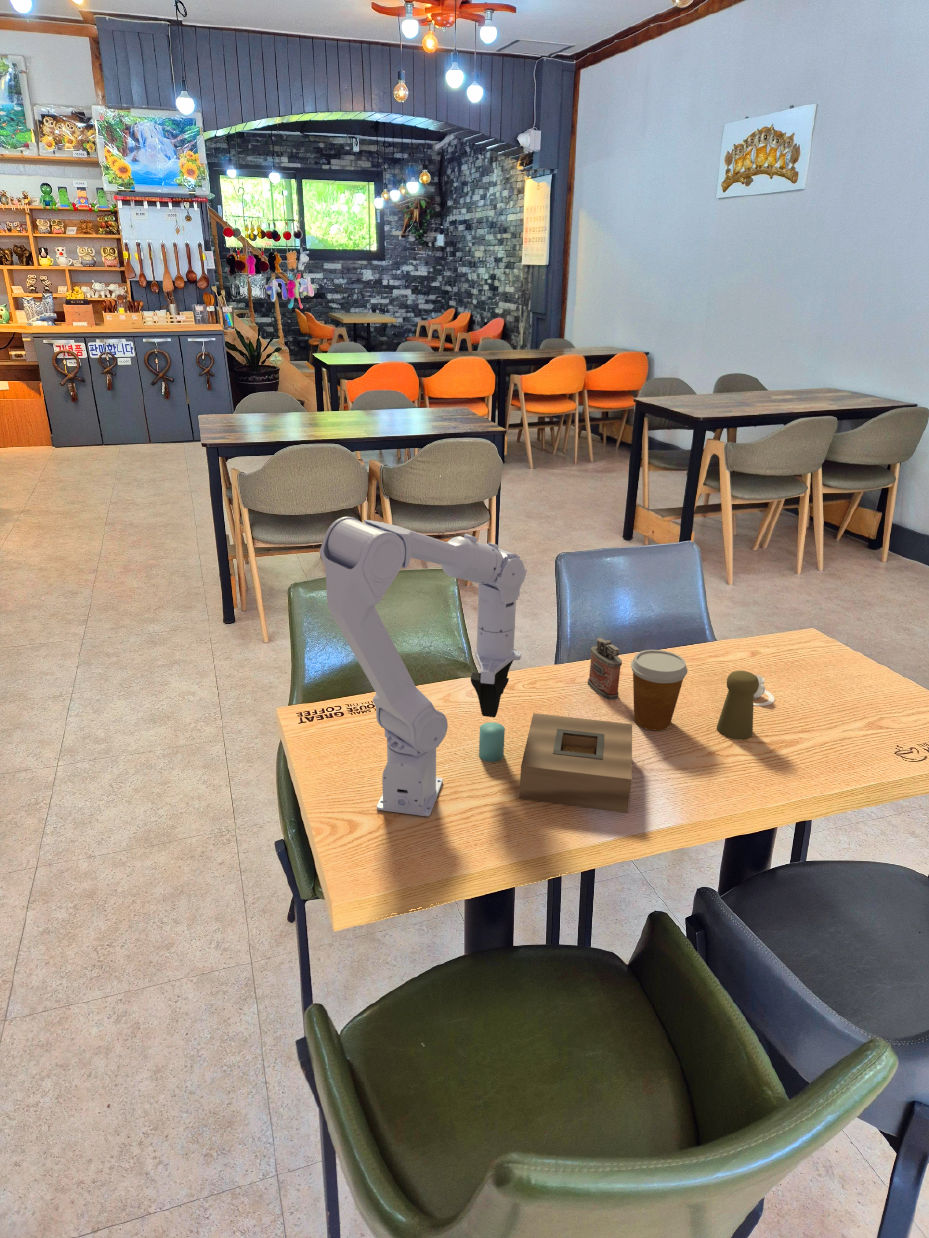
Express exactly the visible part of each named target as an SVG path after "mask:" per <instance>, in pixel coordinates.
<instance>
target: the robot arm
mask: <svg viewBox="0 0 929 1238" xmlns="http://www.w3.org/2000/svg"><path fill="white" fill-rule="evenodd" d="M362 521H363V522H362ZM362 521H360V520H359V519H357V518H355V517H352V516H343V517H340V518H338V519H336V520H335V521H333V522H332V523H331V524H330V525H329V527H328V529H327V531H326V533H325V535H324V538H323V541H322V543H321V546H320V549H319V555H320V557H321V560H322V561H323V564H324V567H325V581H326V583H325V584H326V600H327V607H328V610H329V612H330V614H331V615H332V618H333V619H334V622H336V624H337V626H338V628H339V630H340V632H341V633H342V635H343V637H344V639H345V640H346V642H347V644H348V645H349V648H350V649H351V651H352V653H353V655H354V656H355V658H356V660H357V661H358V663H359V666H360V668H361V669H362V671H363V672H364V674H365V676H366V678H367V679H368V681H369V683H370V685H371V687H372V688H373V690H374V692H375V695H374V696H373V698H372V702H373V704H374V706H375V710H376V712H375V715H376V721H377V724H378V725H379V726H380V727H382V728H383V729H384V737H385V738H386V757H387V758H386V759H387V761H386V765H385V767H384V770H383V772H382V794H381V795H380V798H379V800H378V802H377V804H376V809H377V810H378V811H384V812H392V813H398V814H400V813H401V814H407V815H414V816H421V817H430V816H431V813H432V811H433V809H434V806H435V803H436V802H437V801H436V800H437V798H438V795H439V793H440V790H441V787H442V784H443V782H444V779H443V778H442V777H438V776H437V748H438V747H440V744H442V742H443V741H444V739H445V737H446V735H447V731H448V725H449V724H448V723H449V722H448V719H447V716H446V715H445V714H444V713H443V712H441V711H439V710H438V709H436V708H435V706H434V705H433V703H432V701H430V700H429V698H428V697H427V696H426V695H425V694H424V693H423V692H422V691H421V690H419V688H417V686H416V685H415V682H414V681H413V678H412V677H411V675H410V674H411V673H410V672H409V671H408V668H407V666H406V665H405V663H404V661H403V659H402V657H401V654H399V652H398V649H397V646H396V645H395V643H394V642H393V640H392V638H391V635H390V634H389V632H388V629H387V628H386V626H385V624H384V622H383V620H382V618H381V617H380V614H379V612H378V610H377V609H376V605H377V604H379V603H380V601H381V600H382V599H383V597H384V595H385V594H386V593H387V591H388V589H389V588H390V587H391V585H392V583H393V581H394V580H395V579H396V577H397V576H398V574H399V573H400V571H401V569H402V568H403V569H407V568H408V567H409V565H410V562H411V559H414V560H420V561H424V562H428V563H433V564H438V565H441V569H442V570H443V573H444V574H445V575H447V576H449V577H450V578H451V577H452V578H455V579H459V580H463V581H467V582H471V583H474V584H478V593H477V594H478V597H477V620H476V621H477V624H476V627H477V629H476V648H475V650H474V656H475V660H476V661H477V663H478V666H479V669H480V672H474V671H472V673H471V676H470V683H471V685H472V687H473V689H474V690H475V692H476V694H477V699H478V702H479V707H480V713H481V716H482V717H488V718H496V717H497V714H498V711H499V707H500V701H501V697H502V695H504V694H503V693H504V691H505V689H506V687H507V685H508V683H509V680H510V678H509V677H508V676H509V675H508V674H509V671H510V668H511V666H512V664H513V662H515V661H520V660H521V659H522V658H521V657H522V652H521V651H520V650H517V649H515V648H514V647H515V630H516V629H515V628H516V611H517V608H516V607H517V601H518V600H519V597H520V596H521V595H520V594H521V587H522V584H524V581H525V579H526V576H527V572H528V571H527V568H525V565H524V563H523V560H522V559H521V557H520V555H518V554H517V553H516V554H515V553H513V552H510V551H508V550H505V549H502V548H499V545H498V544H496V543H492V542H488V543H482V542H480V541H478V537H476V536H474V535H471V534H468V533H465V534H464V535H463V536H454V537H452V538H451V539H449V540H448V541H447V542H446V541H443V540H441V539H437V538H434V537H432V536H428V535H426V534H423V533H419V532H417V531H414V530H411V529H409V528H405V527H402V526H400V525H395V524H391V523H386V522H381V521H376V520H371V519H363V520H362Z"/></svg>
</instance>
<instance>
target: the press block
mask: <svg viewBox="0 0 929 1238" xmlns="http://www.w3.org/2000/svg"><path fill="white" fill-rule="evenodd" d="M531 717H532V718H531V721H530V726H529V729H528V734H527V739H526V743H525V747H524V751H523V756H522V760H521V764H520V778H519V794H518V795H519V797H518V799H519V800H525V801H526V800H527V801H534V802H542V803H548V804H549V803H551V804H558V805H567V806H572V807H580V808H582V807H583V808H588V809H593V810H594V809H595V810H604V811H611V812H617V813H618V812H620V813H626V814H627V813H629V807H630V797H631V787H632V781H633V780H632V779H633V776H632V774H633V724H632V723H626V722H625V723H624V722H617V721H608V720H601V719H600V720H597V719H588V718H581V717H580V718H579V717H574V716H573V717H571V716H563V715H553V714H545V713H537V712H533V713H532V716H531ZM564 745H566V746H575V747H583V748H592V749H595V750H594V754H585V753H577V752H569V751H563V748H564Z"/></svg>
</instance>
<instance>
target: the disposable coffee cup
mask: <svg viewBox="0 0 929 1238" xmlns="http://www.w3.org/2000/svg"><path fill="white" fill-rule="evenodd" d="M630 668H631V671H632V688H633V689H632V691H633V720H634V723H635V724H636V725H637V726H639V727H641V728H642V729H646V730H649V731H663V730H667V729H668V728H669V727H670V726H671V723H672V719H673V716H674V712H675V709H676V706H677V703H678V699H679V695H680V692H681V688H682V685H683V682H684V679H685V678H686V675H688V670H689V669H688V668H687V663H686V660H685V659H684V658H683V657H682V656H680V655H678V654H676V653H674V652H672V651H667V650H664V649H663V650H661V649H660V650H659V649H645V650H641V651H639V652H637V653H636V654H635V655H634V657H633V659H632V660H631V663H630Z"/></svg>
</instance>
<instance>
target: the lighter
mask: <svg viewBox="0 0 929 1238" xmlns="http://www.w3.org/2000/svg"><path fill="white" fill-rule="evenodd" d="M589 652H590V664H589V674H588V675H589V676H588V678H587V685H588V687H590V689H591V690H592V691H594V692H595V693H596V694H597V695H598V696H600V697H602V698H604V699H606V700H610V701H615V700H617V699H619V694H620V693H619V686H620V675H621V666H622V664H623V660H622V658H620V657H619V655H620V649H619V648H618V647H617V646H615V645H614V644H613V643H612V641H611V640H609V639H607V640H606V639H604V638H603V637H602V638H601V637H598V638H597V639H596V645H594V646H593V645H592V646H591V647H590V651H589Z"/></svg>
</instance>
